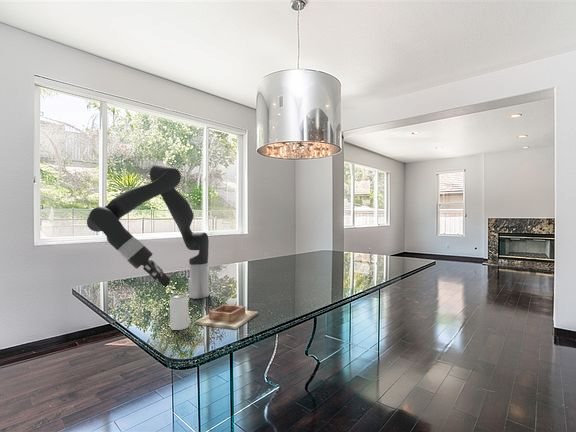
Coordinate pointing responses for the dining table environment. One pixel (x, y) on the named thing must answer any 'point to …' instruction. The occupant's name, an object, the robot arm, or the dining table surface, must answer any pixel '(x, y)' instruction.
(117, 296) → the dining table surface
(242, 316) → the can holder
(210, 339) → the dining table surface
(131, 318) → the dining table surface
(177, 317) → the can
